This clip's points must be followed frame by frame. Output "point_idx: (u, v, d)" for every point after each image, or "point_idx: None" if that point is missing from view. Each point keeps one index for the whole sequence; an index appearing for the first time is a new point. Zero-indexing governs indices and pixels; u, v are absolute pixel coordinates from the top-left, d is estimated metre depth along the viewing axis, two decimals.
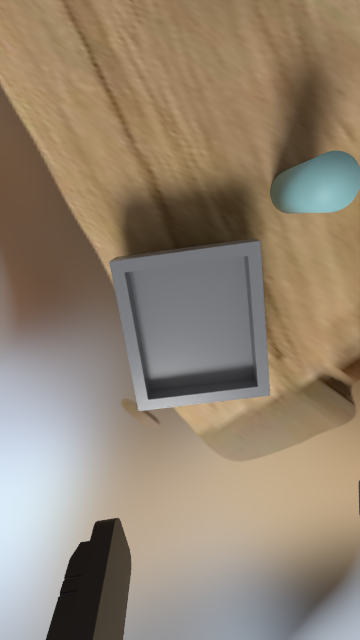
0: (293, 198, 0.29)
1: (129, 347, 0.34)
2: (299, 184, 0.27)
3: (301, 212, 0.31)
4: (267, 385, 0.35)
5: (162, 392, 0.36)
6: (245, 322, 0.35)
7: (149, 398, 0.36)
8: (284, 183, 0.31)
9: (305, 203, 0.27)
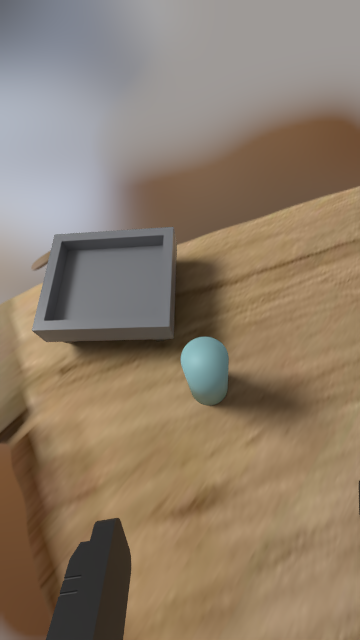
0: None
1: (107, 233, 0.44)
2: None
3: None
4: (42, 328, 0.39)
5: (63, 255, 0.44)
6: None
7: (62, 243, 0.44)
8: None
9: None
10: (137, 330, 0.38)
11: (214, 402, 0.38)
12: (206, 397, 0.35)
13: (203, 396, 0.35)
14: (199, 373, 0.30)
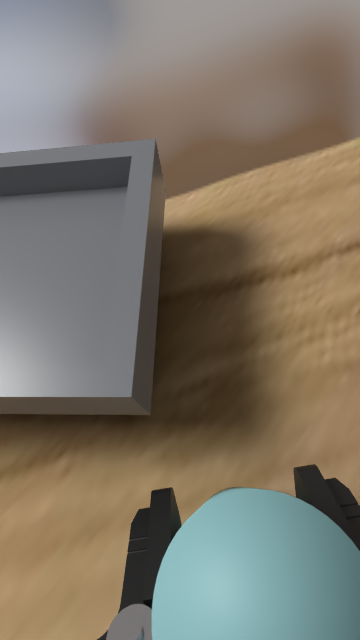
0: (224, 492, 0.10)
1: (5, 156, 0.19)
2: None
3: None
4: None
5: None
6: None
7: None
8: None
9: (201, 507, 0.08)
10: (43, 401, 0.13)
11: None
12: None
13: None
14: None
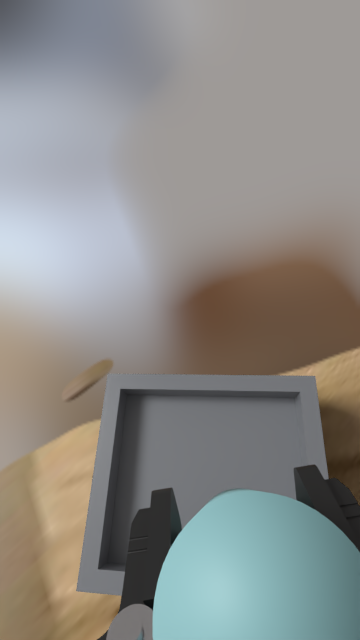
0: (224, 494, 0.10)
1: (198, 378, 0.26)
2: None
3: None
4: (95, 588, 0.21)
5: (122, 410, 0.27)
6: None
7: (121, 391, 0.26)
8: None
9: (202, 509, 0.08)
10: None
11: None
12: None
13: None
14: None
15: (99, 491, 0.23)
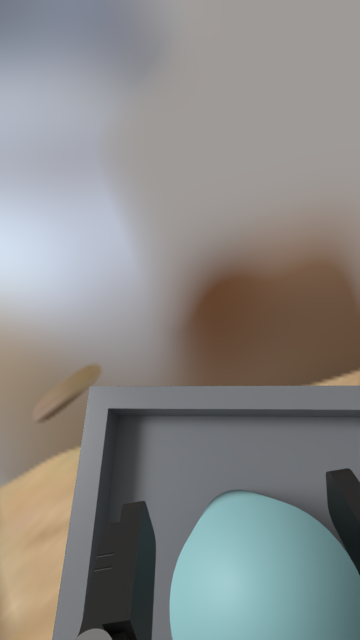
0: (228, 497, 0.11)
1: (222, 392, 0.18)
2: (264, 497, 0.09)
3: None
4: None
5: (111, 440, 0.18)
6: None
7: (109, 411, 0.18)
8: None
9: (209, 512, 0.09)
10: None
11: None
12: None
13: None
14: None
15: (75, 572, 0.15)
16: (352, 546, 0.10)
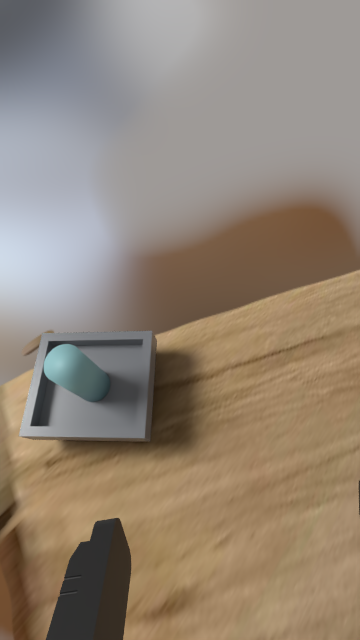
0: None
1: (91, 334, 0.47)
2: None
3: None
4: (28, 434, 0.42)
5: None
6: (85, 425, 0.43)
7: (49, 342, 0.47)
8: None
9: None
10: (115, 438, 0.41)
11: (94, 399, 0.44)
12: (80, 395, 0.41)
13: (77, 394, 0.41)
14: (56, 375, 0.36)
15: (33, 391, 0.44)
16: None
